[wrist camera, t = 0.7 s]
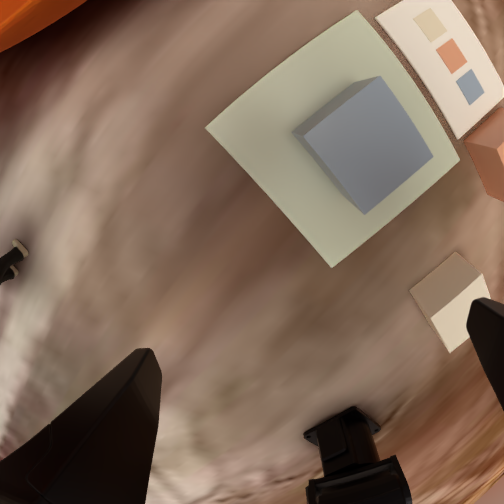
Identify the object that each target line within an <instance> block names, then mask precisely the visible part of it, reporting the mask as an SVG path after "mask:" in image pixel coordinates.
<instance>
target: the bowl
mask: <svg viewBox="0 0 504 504" xmlns="http://www.w3.org/2000/svg"><path fill="white" fill-rule="evenodd" d="M86 1H87V0H0V52H2V51H4V50H6V49H8V48H10V47H12V46H14V45H16V44H18V43H19V42H21V41H23V40H25V39H27V38H28V37H30V36H32V35H34V34H36V33H37V32H39V31H41V30H42V29H44V28H45V27H47V26H49V25H50V24H52V23H54V22H55V21H57V20H58V19H60V18H62V17H63V16H65V15H66V14H68V13H69V12H71V11H72V10H74V9H75V8H77V7H78V6H80V5H81V4H83V3H84V2H86Z"/></svg>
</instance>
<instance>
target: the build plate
mask: <svg viewBox="0 0 504 504" xmlns="http://www.w3.org/2000/svg"><path fill="white" fill-rule="evenodd" d="M376 76H381V77H382V79H383V80H384V81H385V83H386V84H387V85H388V87H389V88H390V90H391V91H392V92H393V94H394V95H395V97H396V98H397V99H398V101H399V102H400V104H401V105H402V107H403V108H404V110H405V111H406V113H407V114H408V116H409V117H410V119H411V120H412V122H413V123H414V125H415V126H416V128H417V130H418V131H419V133H420V134H421V136H422V138H423V139H424V141H425V143H426V144H427V146H428V148H429V149H430V151H431V153H432V155H433V156H434V157H433V158H432V159H430V160H429V161H428V162H427V163H426V164H425V165H424V166H422V167H421V168H420V169H419V170H418V171H417V172H415V173H414V174H413V175H412V176H411V177H410V178H408V179H407V180H406V181H405V182H404V183H402V184H401V185H400V186H399V187H398V188H397V189H395V190H394V191H393V192H392V193H391V194H389V195H388V196H387V197H386V198H385V199H383V200H382V201H381V202H380V203H379V204H377V205H376V206H375V207H374V208H373V209H371V210H370V211H369V212H368V213H366V214H365V215H364V214H363V213H362V212H361V211H359V210H358V209H357V208H356V207H355V206H354V205H353V204H352V203H351V202H350V201H348V200H347V199H346V198H345V197H344V196H343V195H342V194H341V192H340V191H339V190H338V189H337V187H336V186H335V185H334V183H333V182H332V181H331V180H330V178H329V177H328V176H327V175H326V173H325V172H324V171H323V170H322V168H321V167H320V166H319V165H318V163H317V162H316V161H315V160H314V159H313V157H312V156H311V155H310V154H309V153H308V151H307V150H306V149H305V148H304V147H303V145H302V144H301V143H300V142H299V141H298V140H297V138H296V137H295V136H294V135H293V134H292V133H291V132H292V131H293V130H295V129H296V128H297V127H298V126H299V125H301V124H302V123H303V122H304V121H306V120H307V119H308V118H309V117H310V116H312V115H313V114H314V113H315V112H317V111H318V110H319V109H321V108H322V107H323V106H324V105H326V104H327V103H328V102H329V101H331V100H332V99H333V98H334V97H336V96H337V95H338V94H340V93H341V92H342V91H344V90H345V89H346V88H347V87H349V86H350V85H351V84H353V83H354V82H357V81H361V80H365V79H369V78H372V77H376ZM205 129H206V130H207V131H208V132H209V133H210V134H211V135H212V136H213V137H214V138H215V139H216V140H217V141H218V142H219V143H220V144H221V145H222V146H223V147H224V148H225V149H226V151H227V152H228V153H229V154H230V155H231V156H232V157H233V158H234V159H235V160H236V161H237V162H238V163H239V164H240V165H241V167H242V168H243V169H244V170H245V171H246V172H247V173H248V174H249V175H250V176H251V177H252V178H253V180H254V181H255V182H256V183H257V184H258V185H259V186H260V187H261V188H262V189H263V191H264V192H265V193H266V194H267V195H268V196H269V197H270V198H271V199H272V200H273V202H274V203H275V204H276V205H277V206H278V207H279V208H280V209H281V211H282V212H283V213H284V214H285V215H286V216H287V217H288V218H289V220H290V221H291V222H292V223H293V224H294V225H295V226H296V228H297V229H298V230H299V231H300V232H301V233H302V234H303V236H304V237H305V238H306V239H307V240H308V241H309V242H310V244H311V245H312V246H313V247H314V248H315V249H316V251H317V252H318V253H319V254H320V255H321V256H322V258H323V259H324V260H325V261H326V262H327V263H328V265H329V266H330V267H331V268H333V267H334V266H335V265H336V264H338V263H339V262H340V261H341V260H343V259H344V258H345V257H347V256H348V255H349V254H350V253H352V252H353V251H354V250H355V249H357V248H358V247H359V246H360V245H362V244H363V243H364V242H365V241H367V240H368V239H369V238H370V237H372V236H373V235H374V234H375V233H376V232H378V231H379V230H380V229H381V228H383V227H384V226H385V225H386V224H387V223H389V222H390V221H391V220H392V219H393V218H395V217H396V216H397V215H398V214H399V213H401V212H402V211H403V210H404V209H405V208H406V207H408V206H409V205H410V204H411V203H412V202H413V201H415V200H416V199H417V198H418V197H419V196H420V195H422V194H423V193H424V192H425V191H426V190H427V189H428V188H430V187H431V186H432V185H433V184H434V183H435V182H436V181H438V180H439V179H440V178H441V177H442V176H443V175H444V174H445V173H447V172H448V171H449V170H450V169H451V168H452V167H453V166H454V165H455V164H457V163H458V162H459V161H460V159H459V157H458V155H457V153H456V151H455V149H454V147H453V145H452V144H451V142H450V140H449V138H448V136H447V134H446V133H445V131H444V129H443V127H442V126H441V124H440V122H439V120H438V119H437V117H436V115H435V114H434V112H433V110H432V109H431V107H430V106H429V104H428V102H427V101H426V99H425V98H424V96H423V95H422V93H421V92H420V90H419V89H418V87H417V86H416V84H415V83H414V81H413V80H412V78H411V77H410V75H409V74H408V73H407V71H406V70H405V68H404V67H403V66H402V64H401V63H400V61H399V60H398V59H397V57H396V56H395V55H394V54H393V52H392V51H391V50H390V48H389V47H388V46H387V44H386V43H385V42H384V41H383V39H382V38H381V37H380V36H379V35H378V33H377V32H376V31H375V30H374V29H373V27H372V26H371V25H370V24H369V23H368V22H367V20H366V19H365V18H364V17H363V16H362V15H361V14H360V13H359V11H358V10H356V11H354V12H353V13H351V14H350V15H348V16H347V17H345V18H344V19H342V20H341V21H339V22H338V23H336V24H335V25H333V26H332V27H330V28H329V29H327V30H326V31H324V32H323V33H321V34H320V35H319V36H317V37H316V38H314V39H313V40H311V41H310V42H309V43H307V44H306V45H305V46H303V47H302V48H300V49H299V50H298V51H296V52H295V53H294V54H292V55H291V56H290V57H288V58H287V59H286V60H284V61H283V62H282V63H280V64H279V65H278V66H277V67H275V68H274V69H273V70H272V71H270V72H269V73H268V74H266V75H265V76H264V77H263V78H262V79H260V80H259V81H258V82H257V83H255V84H254V85H253V86H252V87H251V88H249V89H248V90H247V91H246V92H245V93H243V94H242V95H241V96H240V97H239V98H237V99H236V100H235V101H234V102H233V103H232V104H231V105H229V106H228V107H227V108H226V109H225V110H224V111H223V112H221V113H220V114H219V115H218V116H217V117H216V118H215V119H214V120H213V121H211V122H210V123H209V124H208V125H207V126H206V127H205Z"/></svg>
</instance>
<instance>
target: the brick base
mask: <svg viewBox="0 0 504 504" xmlns="http://www.w3.org/2000/svg"><path fill="white" fill-rule="evenodd" d="M291 133H292V134H293V135H294V136H295V137H296V138H297V140H298V141H299V142H300V143H301V144H302V145H303V147H304V148H305V149H306V150H307V151H308V153H309V154H310V155H311V156H312V157H313V159H314V160H315V161H316V162H317V163H318V165H319V166H320V167H321V168H322V170H323V171H324V172H325V173H326V175H327V176H328V177H329V178H330V180H331V181H332V182H333V183H334V185H335V186H336V187H337V189H338V190H339V191H340V192H341V194H342V195H343V196H344V197H345V198H346V199H347V200H348V201H350V202H351V203H352V204H353V205H354V206H355V207H356V208H357V209H358V210H359V211H361V212H362V213H363V214H364V215H365V214H366V213H368V212H369V211H370V210H371V209H373V208H374V207H375V206H376V205H377V204H379V203H380V202H381V201H382V200H383V199H385V198H386V197H387V196H388V195H389V194H391V193H392V192H393V191H394V190H395V189H397V188H398V187H399V186H400V185H401V184H402V183H404V182H405V181H406V180H407V179H408V178H410V177H411V176H412V175H413V174H414V173H415V172H417V171H418V170H419V169H420V168H421V167H422V166H424V165H425V164H426V163H427V162H428V161H429V160H430V159H432V158H433V157H434V156H433V155H432V153H431V151H430V149H429V148H428V146H427V144H426V143H425V141H424V139H423V138H422V136H421V134H420V133H419V131H418V130H417V128H416V126H415V125H414V123H413V122H412V120H411V119H410V117H409V116H408V114H407V113H406V111H405V110H404V108H403V107H402V105H401V104H400V102H399V101H398V99H397V98H396V97H395V95H394V94H393V92H392V91H391V90H390V88H389V87H388V85H387V84H386V83H385V81H384V80H383V79H382V77H381V76H376V77H372V78H369V79H365V80H361V81H357V82H354V83H353V84H351V85H350V86H349V87H347V88H346V89H345V90H344V91H342V92H341V93H340V94H338V95H337V96H336V97H334V98H333V99H332V100H331V101H329V102H328V103H327V104H326V105H324V106H323V107H322V108H321V109H319V110H318V111H317V112H315V113H314V114H313V115H312V116H310V117H309V118H308V119H307V120H306V121H304V122H303V123H302V124H301V125H299V126H298V127H297V128H296V129H295V130H293V131H292V132H291Z"/></svg>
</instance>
